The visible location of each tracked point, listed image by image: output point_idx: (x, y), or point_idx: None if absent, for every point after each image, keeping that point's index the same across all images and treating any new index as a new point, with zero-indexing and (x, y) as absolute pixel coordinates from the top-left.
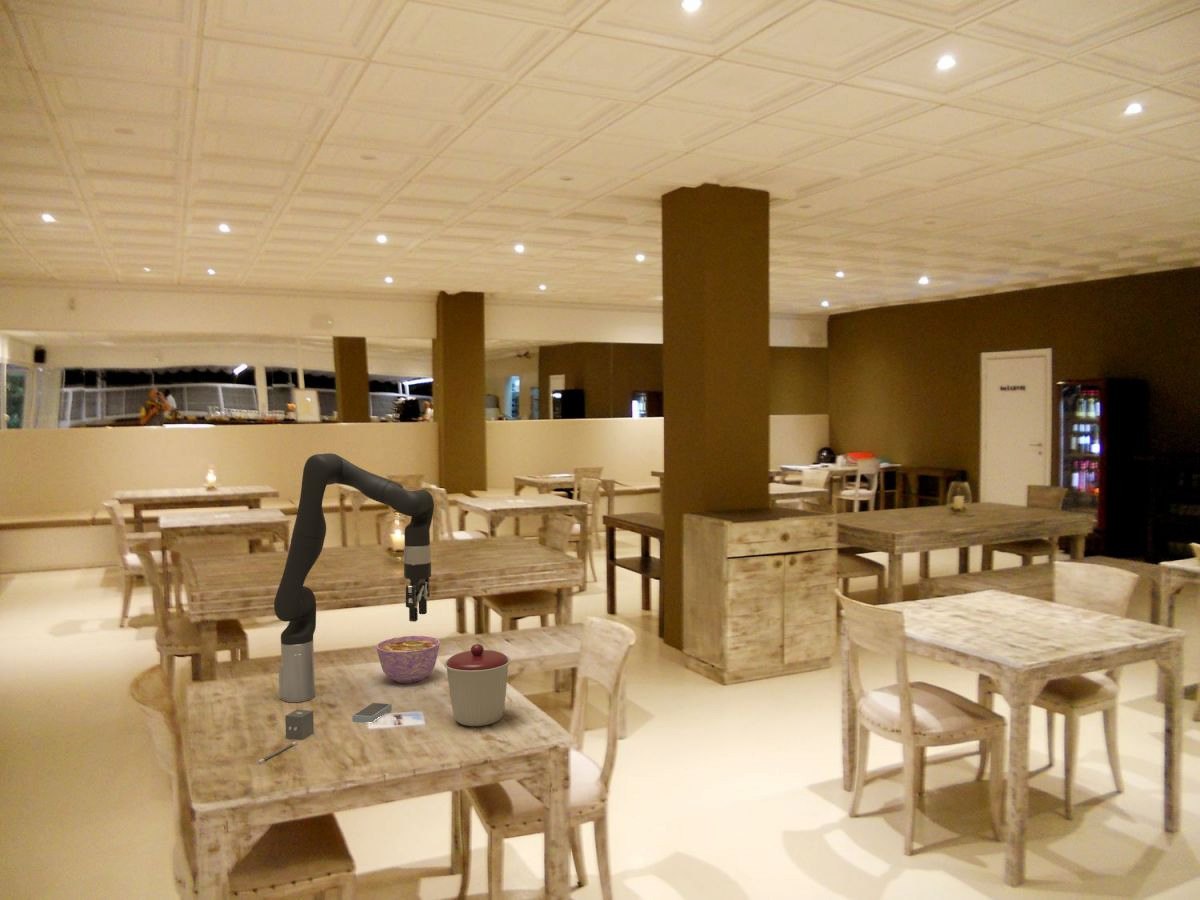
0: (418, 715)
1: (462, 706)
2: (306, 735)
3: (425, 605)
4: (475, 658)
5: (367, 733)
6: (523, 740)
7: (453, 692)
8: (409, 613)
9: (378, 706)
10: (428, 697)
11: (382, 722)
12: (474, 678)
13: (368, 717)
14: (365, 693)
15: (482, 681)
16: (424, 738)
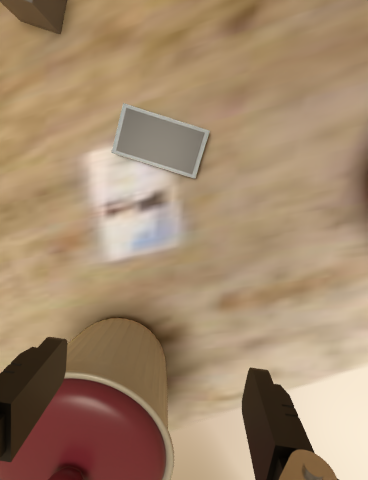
0: (155, 241)
1: None
2: (32, 23)
3: (253, 460)
4: (35, 472)
5: (58, 158)
6: None
7: None
8: (18, 369)
9: (178, 151)
10: (267, 244)
11: (119, 175)
12: None
13: (114, 144)
14: (324, 86)
15: None
16: (35, 271)
